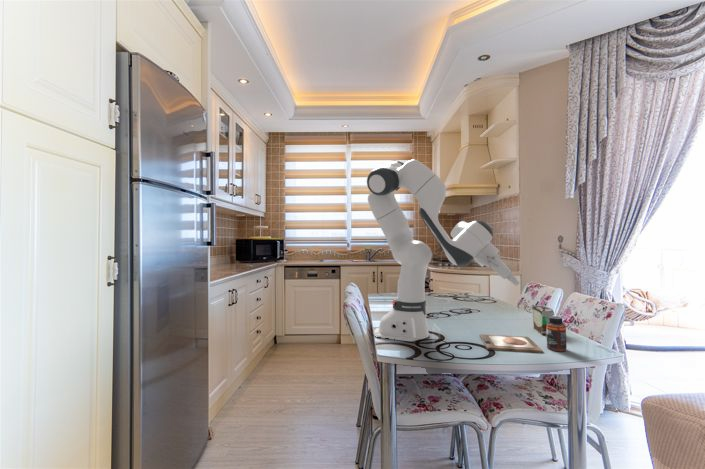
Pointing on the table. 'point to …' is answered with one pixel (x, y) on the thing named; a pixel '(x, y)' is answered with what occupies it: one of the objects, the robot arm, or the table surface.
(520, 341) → the clipboard
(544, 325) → the food container
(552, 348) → the supplement bottle
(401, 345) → the table surface
